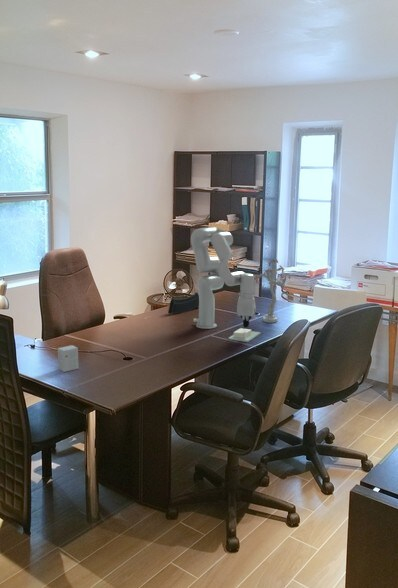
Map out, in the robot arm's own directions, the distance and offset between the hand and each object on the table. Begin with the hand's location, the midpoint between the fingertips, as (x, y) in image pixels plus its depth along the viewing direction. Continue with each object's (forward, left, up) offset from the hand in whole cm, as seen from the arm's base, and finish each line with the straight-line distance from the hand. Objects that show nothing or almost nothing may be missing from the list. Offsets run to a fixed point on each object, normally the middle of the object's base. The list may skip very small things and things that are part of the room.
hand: (245, 326), depth 335 cm
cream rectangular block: (+2, 0, -4) cm, 4 cm away
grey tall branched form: (-1, +44, -6) cm, 44 cm away
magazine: (-60, +39, -6) cm, 72 cm away
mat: (-1, +1, -6) cm, 6 cm away
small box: (-53, -92, -6) cm, 106 cm away
